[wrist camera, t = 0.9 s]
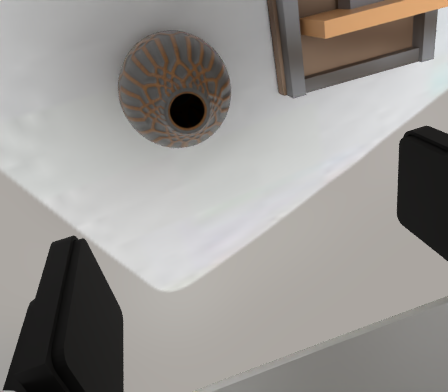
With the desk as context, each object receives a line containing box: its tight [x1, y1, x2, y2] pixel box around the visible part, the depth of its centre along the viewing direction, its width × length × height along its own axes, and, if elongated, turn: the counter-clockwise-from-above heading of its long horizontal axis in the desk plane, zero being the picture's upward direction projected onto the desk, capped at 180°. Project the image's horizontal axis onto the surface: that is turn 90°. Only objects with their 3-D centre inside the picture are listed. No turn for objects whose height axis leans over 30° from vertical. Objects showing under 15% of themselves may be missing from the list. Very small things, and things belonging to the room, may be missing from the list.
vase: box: [118, 31, 231, 148], centre depth 22 cm, size 7×7×9 cm
